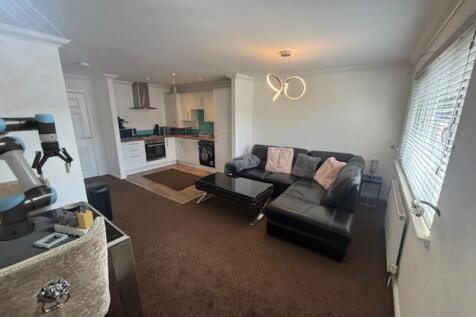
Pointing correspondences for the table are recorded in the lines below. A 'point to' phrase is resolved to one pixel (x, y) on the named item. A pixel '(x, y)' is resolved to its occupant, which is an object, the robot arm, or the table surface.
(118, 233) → the table surface
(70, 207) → the mug
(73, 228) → the strip
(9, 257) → the table surface
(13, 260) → the table surface
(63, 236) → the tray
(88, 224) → the plug
